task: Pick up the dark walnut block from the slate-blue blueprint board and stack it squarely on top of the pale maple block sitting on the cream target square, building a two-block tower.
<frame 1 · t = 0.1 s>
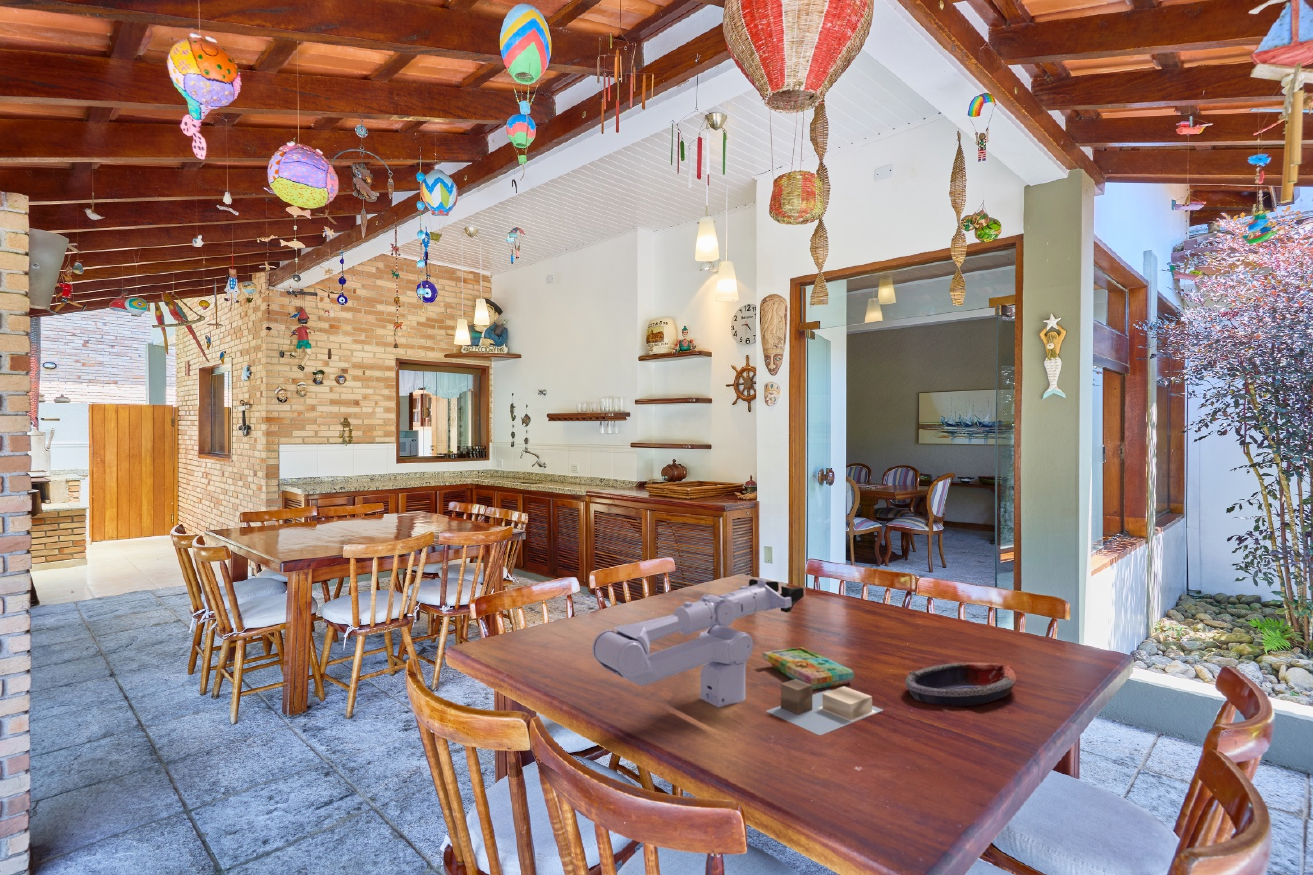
hand: (789, 589, 153), 22 cm above the table, tool horizontal, fingers open, 7 cm apart
walnut block: (796, 708, 135), point 1 cm above the table, touching blueprint board
blueprint board: (824, 714, 134), on the table
puzzle game: (806, 678, 156), on the table
dish: (964, 695, 146), on the table
maple block: (847, 709, 135), point 1 cm above the table, touching blueprint board
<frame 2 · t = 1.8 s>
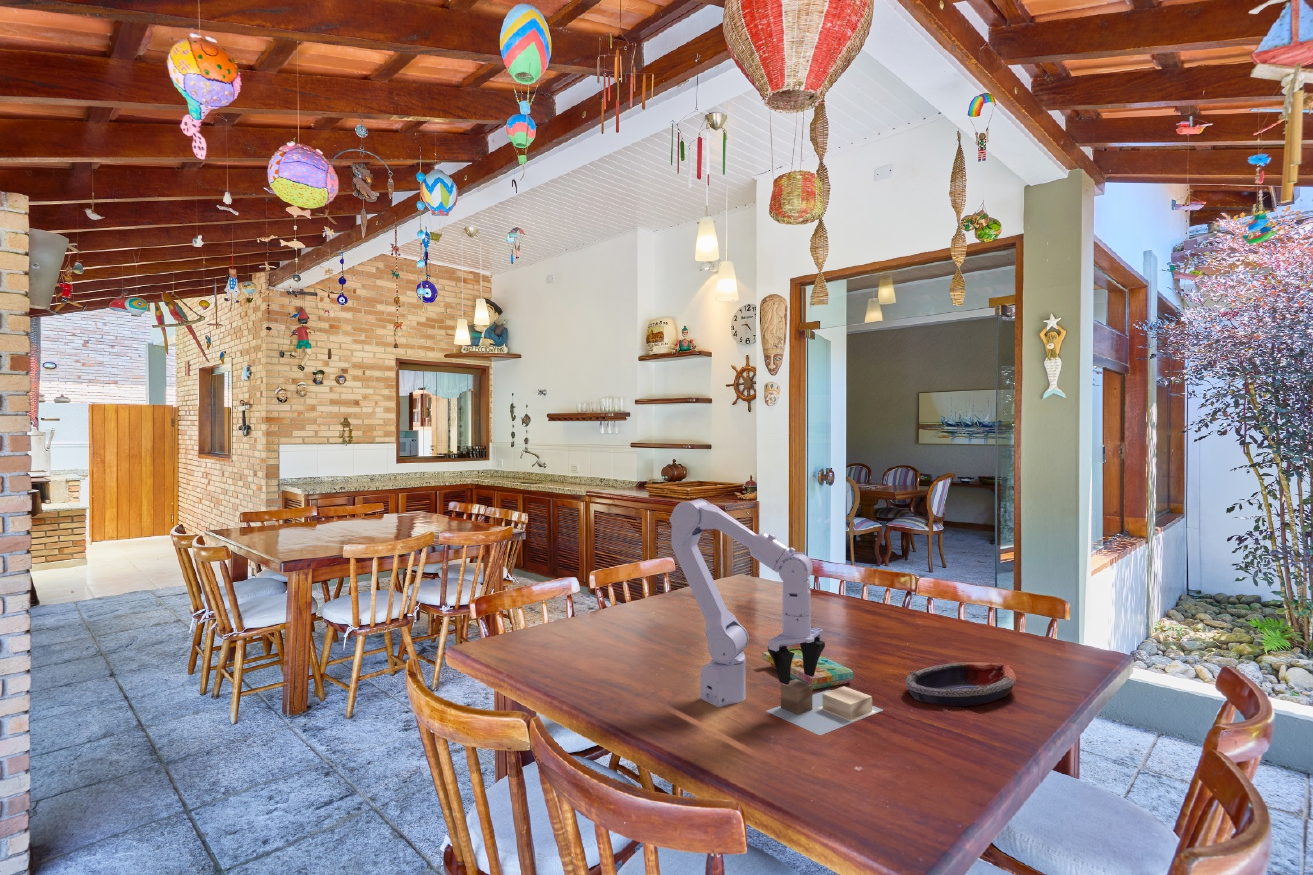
hand: (796, 679, 135), 7 cm above the table, tool pointing down, fingers open, 7 cm apart
nothing on the table moved.
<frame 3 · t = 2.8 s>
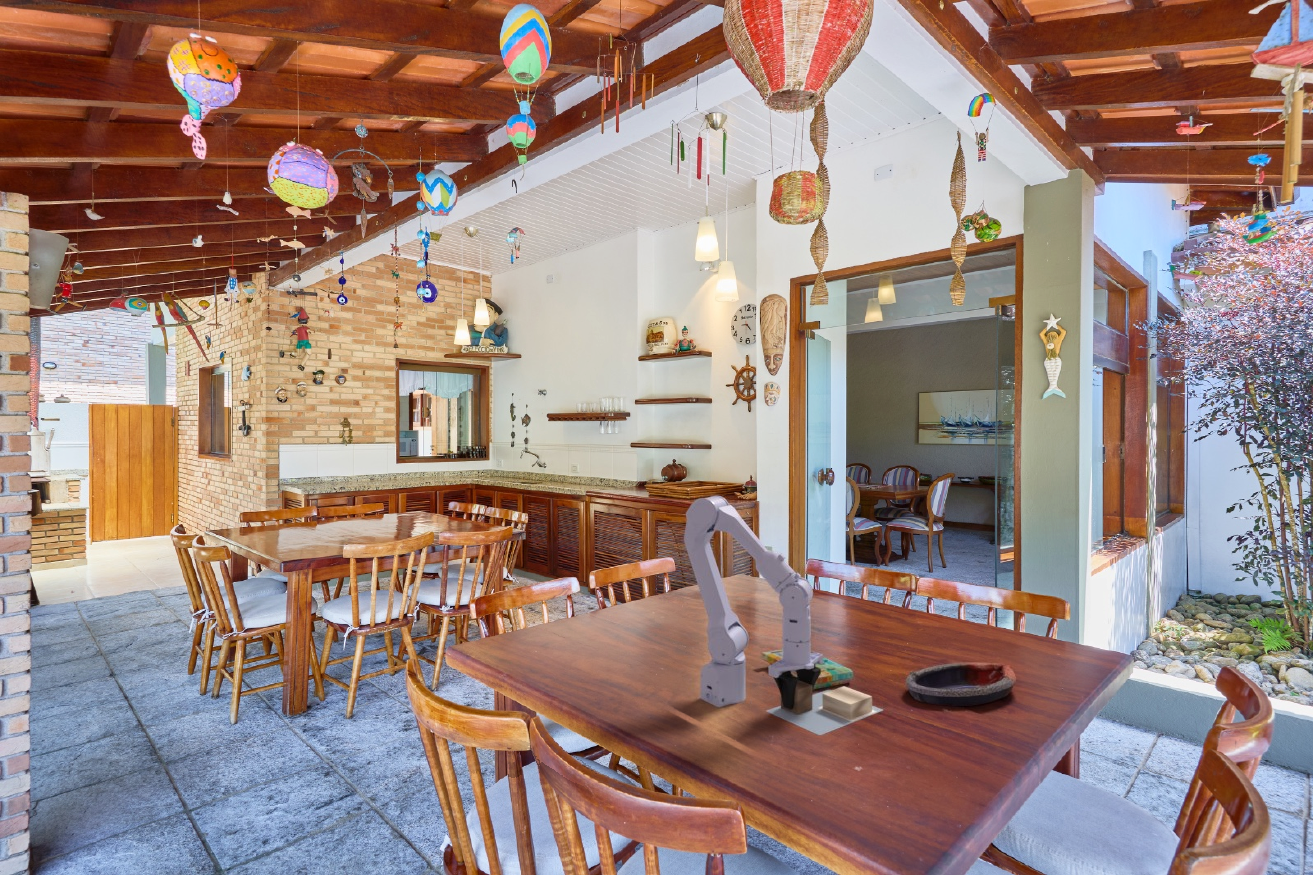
hand: (796, 704, 135), 2 cm above the table, tool pointing down, fingers closed on walnut block, 4 cm apart
walnut block: (796, 708, 135), point 1 cm above the table, touching blueprint board, gripper
everything else where it was.
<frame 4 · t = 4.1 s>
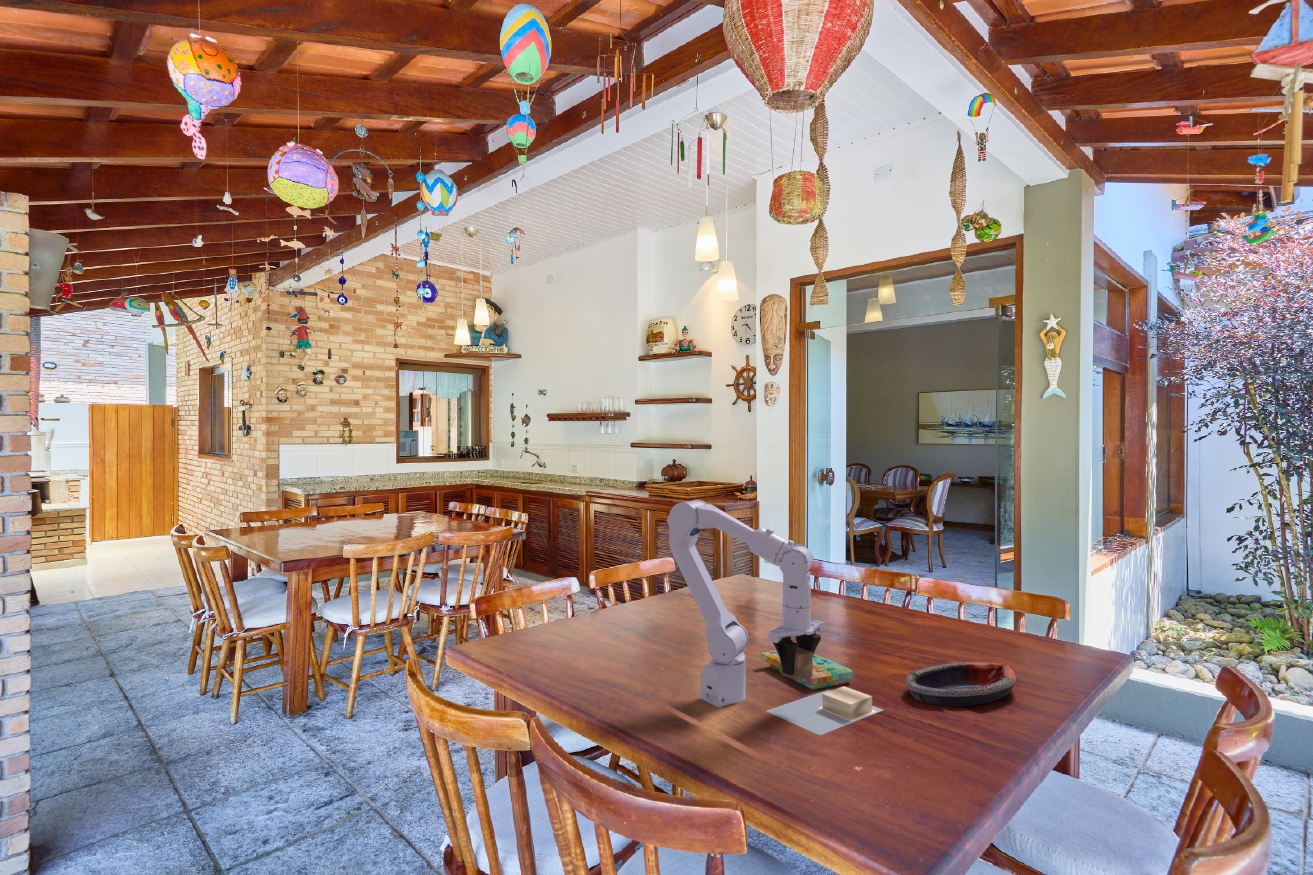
hand: (796, 671, 135), 9 cm above the table, tool pointing down, fingers closed on walnut block, 4 cm apart
walnut block: (796, 675, 135), point 8 cm above the table, touching gripper
everything else where it was.
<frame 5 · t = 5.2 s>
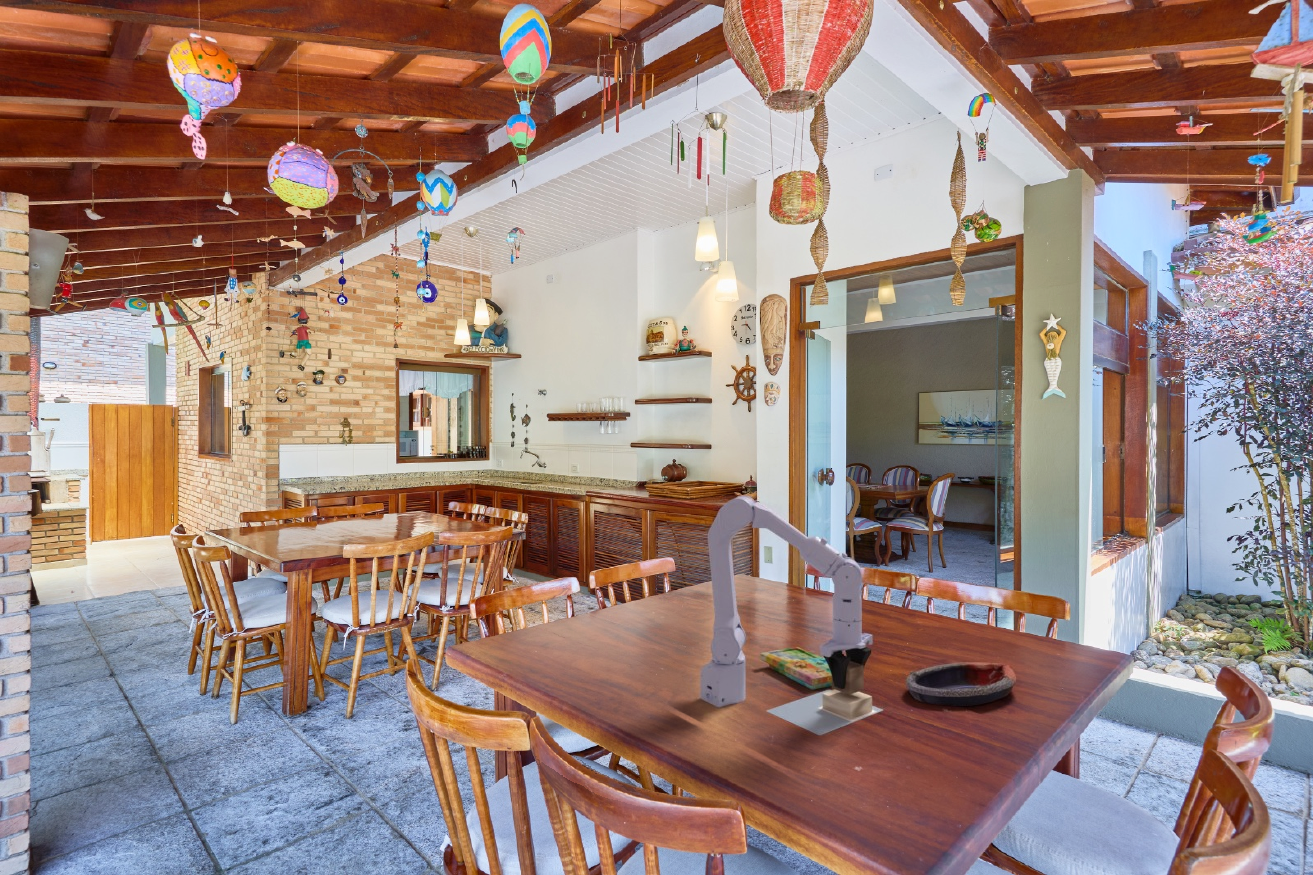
hand: (847, 684, 135), 6 cm above the table, tool pointing down, fingers closed on walnut block, 4 cm apart
walnut block: (847, 688, 135), point 5 cm above the table, touching gripper
everything else where it was.
when the fingers open (6 cm above the table, at t = 5.6 s): walnut block drops 1 cm, resting on maple block.
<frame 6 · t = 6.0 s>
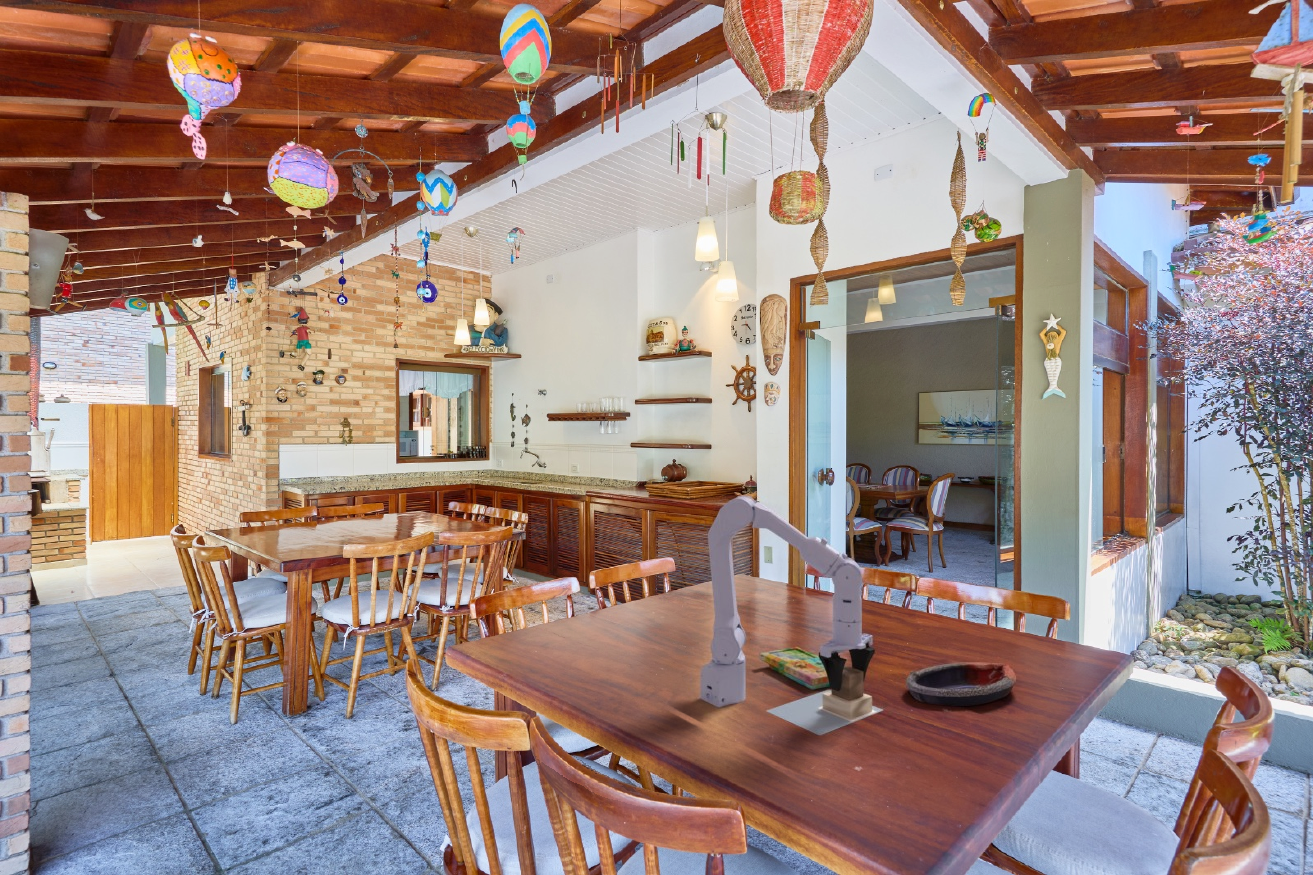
hand: (847, 685, 135), 6 cm above the table, tool pointing down, fingers open, 7 cm apart
walnut block: (847, 695, 135), point 4 cm above the table, touching maple block
maple block: (847, 709, 135), point 1 cm above the table, touching blueprint board, walnut block
everything else where it was.
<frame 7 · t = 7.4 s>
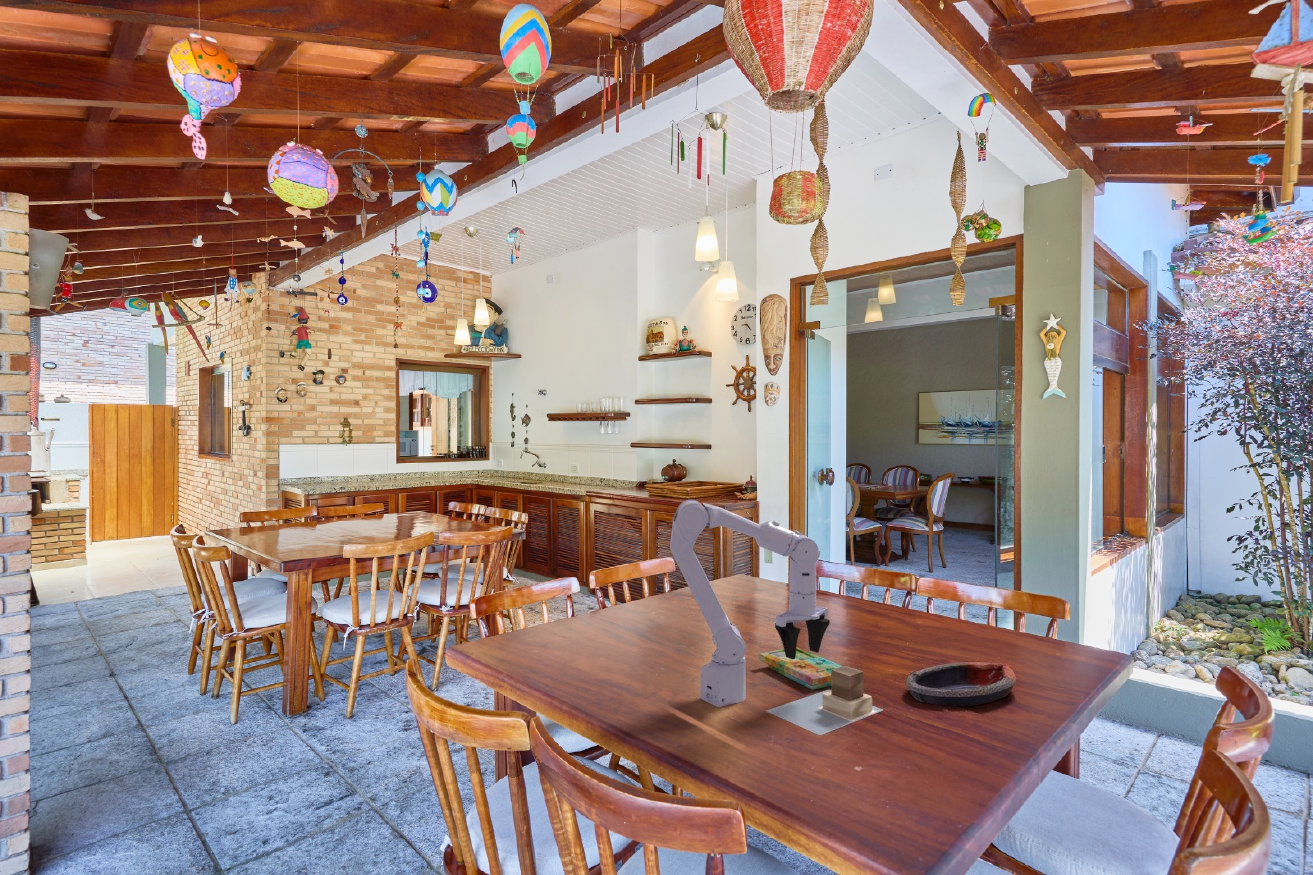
hand: (802, 654, 142), 10 cm above the table, tool pointing down, fingers open, 7 cm apart
nothing on the table moved.
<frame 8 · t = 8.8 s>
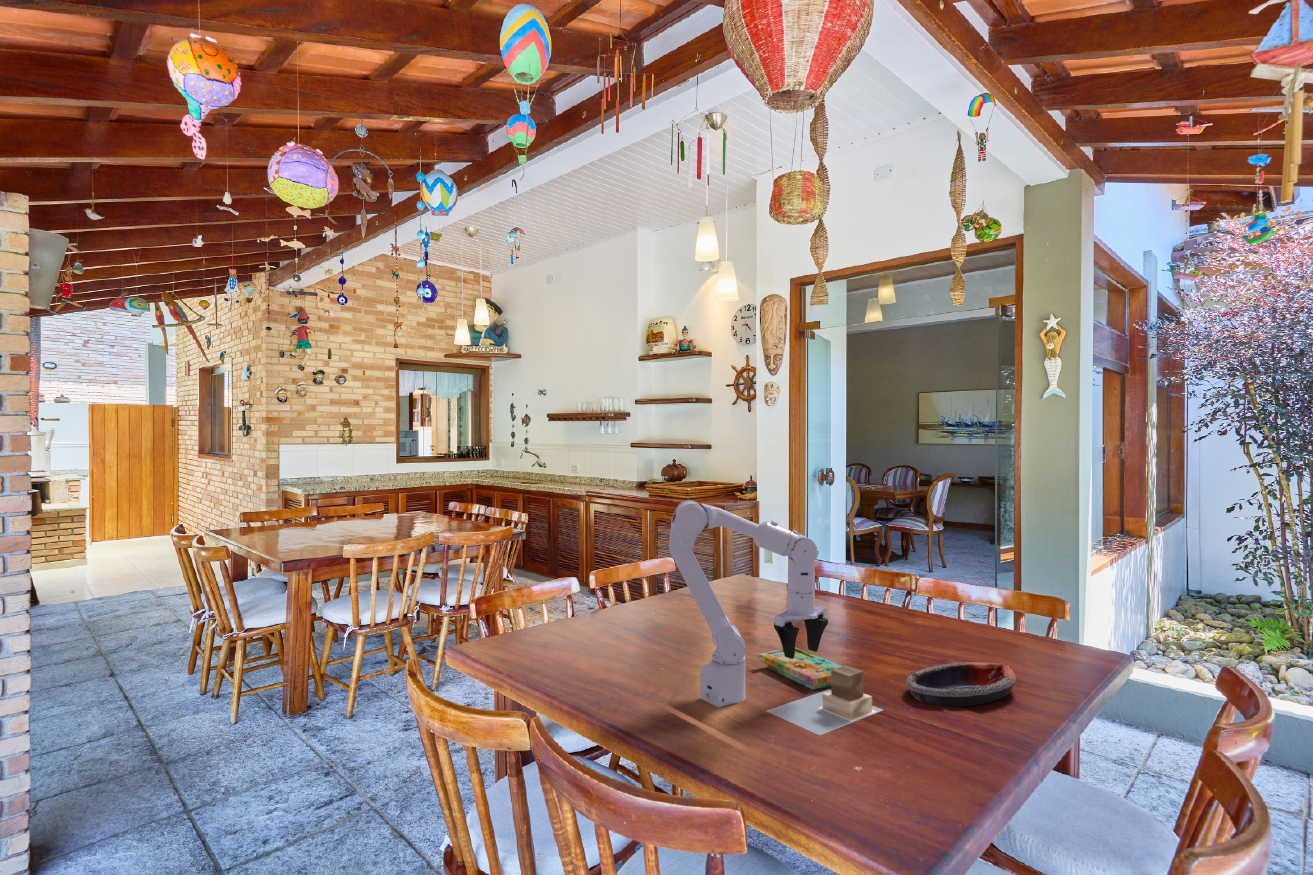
hand: (801, 654, 142), 10 cm above the table, tool pointing down, fingers open, 7 cm apart
nothing on the table moved.
at the end: walnut block 0.1 cm off-centre on the maple block, point 3.0 cm above the maple block's base; walnut block tilted 0°; the gripper is holding nothing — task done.
